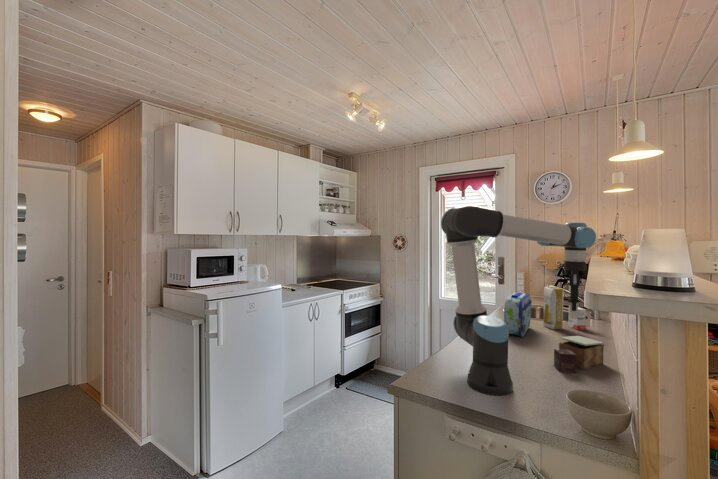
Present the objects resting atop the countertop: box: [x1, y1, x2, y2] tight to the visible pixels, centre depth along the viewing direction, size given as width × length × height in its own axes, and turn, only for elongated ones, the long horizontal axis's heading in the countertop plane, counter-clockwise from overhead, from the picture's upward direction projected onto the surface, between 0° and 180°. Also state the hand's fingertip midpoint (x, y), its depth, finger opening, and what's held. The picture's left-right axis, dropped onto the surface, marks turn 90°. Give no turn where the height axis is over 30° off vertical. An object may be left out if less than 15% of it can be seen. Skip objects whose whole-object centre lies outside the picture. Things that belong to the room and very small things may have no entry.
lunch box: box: [503, 292, 532, 338], centre depth 183 cm, size 26×11×21 cm, turn 144°
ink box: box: [567, 305, 587, 331], centre depth 190 cm, size 9×5×12 cm, turn 179°
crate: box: [558, 340, 605, 371], centre depth 140 cm, size 14×10×8 cm
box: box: [553, 348, 577, 374], centre depth 133 cm, size 6×6×7 cm
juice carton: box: [543, 285, 565, 330], centre depth 191 cm, size 9×8×24 cm
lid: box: [559, 335, 605, 346], centre depth 140 cm, size 14×10×1 cm
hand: (573, 318), depth 136 cm, fingers closed
